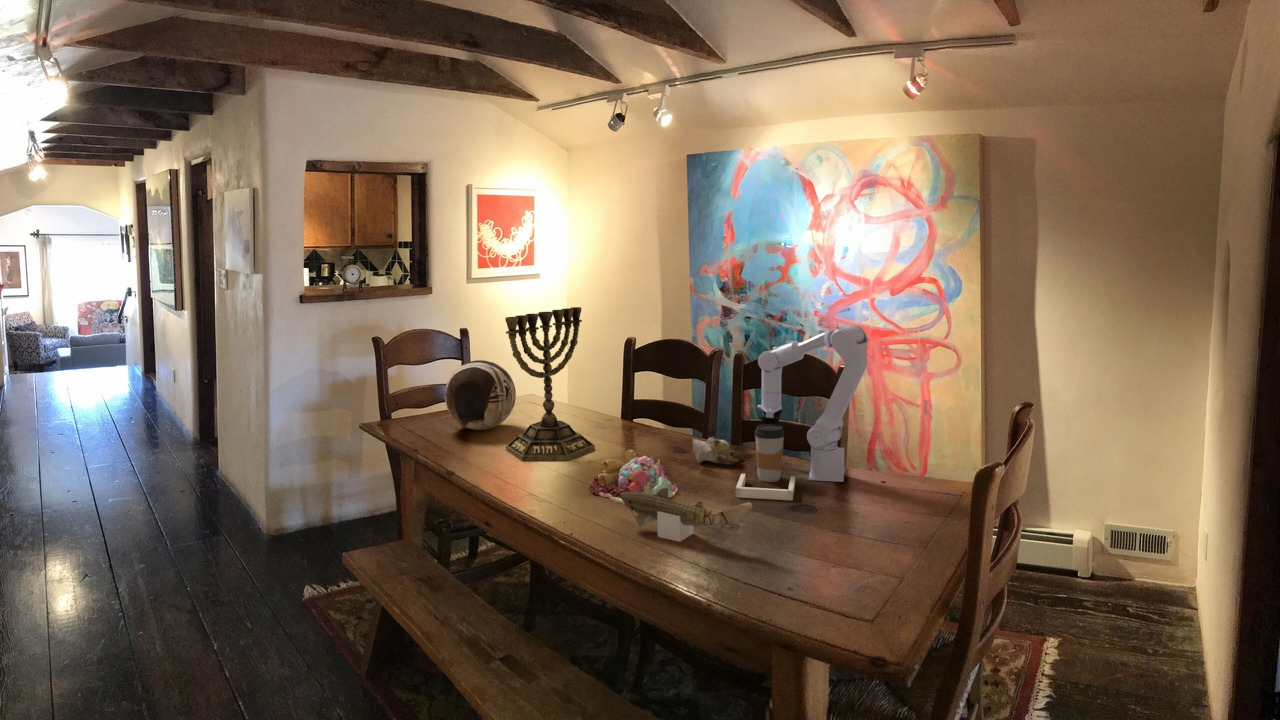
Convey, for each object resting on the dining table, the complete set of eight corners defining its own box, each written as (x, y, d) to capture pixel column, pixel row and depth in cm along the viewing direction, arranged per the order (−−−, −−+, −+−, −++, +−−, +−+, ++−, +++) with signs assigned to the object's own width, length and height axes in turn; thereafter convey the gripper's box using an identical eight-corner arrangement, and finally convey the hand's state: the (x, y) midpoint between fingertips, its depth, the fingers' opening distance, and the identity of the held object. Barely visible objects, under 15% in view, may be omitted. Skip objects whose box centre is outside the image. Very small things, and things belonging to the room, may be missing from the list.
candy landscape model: (573, 491, 227) (572, 458, 226) (630, 471, 245) (629, 441, 243) (641, 510, 211) (641, 475, 209) (697, 488, 228) (697, 455, 227)
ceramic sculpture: (695, 429, 257) (743, 433, 254) (693, 456, 258) (741, 460, 255) (690, 438, 246) (740, 442, 243) (688, 466, 248) (738, 471, 245)
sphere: (435, 436, 288) (431, 366, 284) (462, 420, 313) (458, 355, 309) (504, 438, 284) (500, 366, 280) (525, 421, 309) (523, 355, 305)
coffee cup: (777, 485, 228) (777, 432, 226) (749, 480, 233) (749, 428, 230) (788, 477, 235) (789, 425, 233) (761, 473, 240) (761, 422, 237)
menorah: (546, 469, 247) (540, 319, 240) (483, 458, 260) (476, 316, 253) (613, 441, 277) (610, 308, 270) (553, 433, 290) (549, 305, 283)
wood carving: (742, 559, 178) (742, 509, 176) (611, 528, 198) (610, 483, 196) (760, 546, 185) (761, 498, 183) (632, 517, 205) (631, 473, 203)
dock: (794, 485, 228) (795, 476, 228) (792, 500, 215) (792, 491, 215) (741, 482, 231) (741, 473, 231) (735, 497, 219) (735, 488, 218)
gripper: (759, 386, 250) (759, 430, 252) (755, 395, 236) (755, 442, 238) (783, 386, 248) (783, 430, 250) (780, 396, 234) (780, 442, 236)
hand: (771, 436), depth 244 cm, fingers open, 7 cm apart
